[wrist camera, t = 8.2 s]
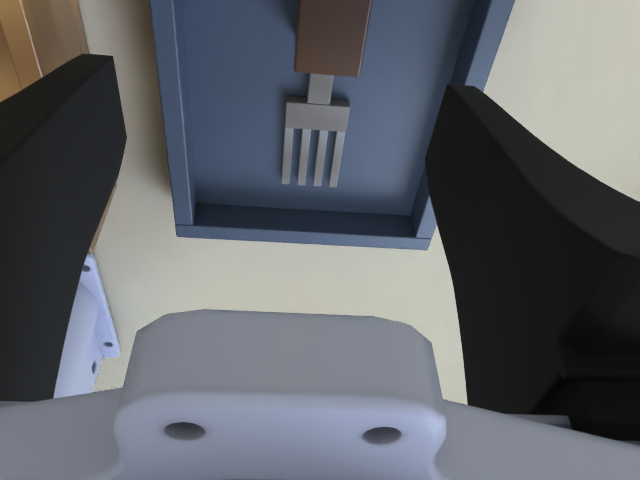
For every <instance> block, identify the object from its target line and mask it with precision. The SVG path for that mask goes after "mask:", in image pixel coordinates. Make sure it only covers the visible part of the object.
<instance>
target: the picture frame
mask: <svg viewBox="0 0 640 480" xmlns="http://www.w3.org/2000/svg"><path fill="white" fill-rule="evenodd" d="M514 2H515V0H373V2H372V8H371V14H370V20H369V26H368V32H367V38H366V44H365V50H364V56H363V62H362V68H361V74H360V76H359V77H347V76H335V75H334V78H333V85H332V93H331V99H336V100H349V101H350V112H349V118H348V124H347V131H346V132H345V138H344V144H343V150H342V157H341V163H340V169H339V176H338V182H337V187H329V182H328V181H329V174H330V167H331V160H332V153H333V146H334V140H335V133H336V131H328V137H327V144H326V152H325V159H324V167H323V174H322V182H321V186H313V175H314V166H315V158H316V149H317V141H318V132H319V130H311V135H310V144H309V154H308V163H307V173H306V182H305V185H297V175H298V164H299V154H300V143H301V132H302V129H295V128H294V132H293V144H292V157H291V169H290V182H289V184H281V176H282V161H283V146H284V130H285V127H284V125H285V108H286V97H287V96H297V97H307V90H308V79H309V73H297V72H295V71H294V35H295V20H296V6H297V0H149V6H150V15H151V23H152V32H153V40H154V49H155V57H156V66H157V74H158V82H159V91H160V99H161V108H162V116H163V125H164V133H165V142H166V150H167V159H168V167H169V176H170V184H171V192H172V201H173V209H174V218H175V223H176V224H175V227H176V235H177V237H188V238H207V239H226V240H245V241H264V242H283V243H302V244H320V245H339V246H358V247H377V248H396V249H415V250H428V247H429V244H430V241H431V238H432V236H433V233H434V230H435V227H436V224H437V222H436V218H435V215H434V211H433V207H432V204H431V200H430V196H429V190H428V182H427V174H426V164H425V156H426V153H427V150H428V146H429V143H430V139H431V136H432V133H433V129H434V126H435V123H436V119H437V116H438V113H439V109H440V106H441V103H442V99H443V96H444V92H445V89H446V86H447V84H456V85H468V86H475V87H476V88H478V89H479V90H481V91H482V92H483V90H484V87H485V84H486V82H487V79H488V76H489V73H490V70H491V67H492V64H493V62H494V59H495V56H496V53H497V50H498V47H499V44H500V42H501V39H502V36H503V33H504V30H505V27H506V24H507V22H508V19H509V16H510V13H511V10H512V7H513V4H514Z"/></svg>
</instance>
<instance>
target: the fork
mask: <svg viewBox="0 0 640 480" xmlns="http://www.w3.org/2000/svg"><path fill="white" fill-rule="evenodd" d="M372 2H373V0H297V6H296V20H295V35H294V71H295V72H297V73H309V79H308V90H307V97H297V96H287V97H286V108H285V125H284V127H285V130H284V146H283V161H282V176H281V184H289V182H290V169H291V157H292V144H293V132H294V128H295V129H302V132H301V143H300V154H299V164H298V175H297V185H305V182H306V173H307V163H308V154H309V144H310V135H311V130H319V132H318V141H317V149H316V158H315V166H314V175H313V186H321V182H322V174H323V167H324V159H325V152H326V144H327V137H328V131H336V133H335V140H334V146H333V153H332V160H331V167H330V174H329V181H328V182H329V187H337V182H338V176H339V169H340V163H341V157H342V150H343V144H344V138H345V132H346V131H347V124H348V118H349V112H350V101H349V100H336V99H331V93H332V85H333V78H334V75H335V76H347V77H359V76H360V74H361V68H362V62H363V56H364V50H365V44H366V38H367V32H368V26H369V20H370V14H371V8H372Z"/></svg>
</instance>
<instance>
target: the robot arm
mask: <svg viewBox="0 0 640 480" xmlns="http://www.w3.org/2000/svg"><path fill="white" fill-rule="evenodd" d="M126 139H127V136H126V130H125V124H124V118H123V112H122V106H121V100H120V94H119V89H118V83H117V77H116V71H115V65H114V59H113V56H106V55H94V54H81V55H79V56H77V57H75V58H73V59H71V60H70V61H68V62H66V63H65V64H63V65H61V66H60V67H58V68H56V69H55V70H53V71H52V72H50V73H48V74H47V75H45V76H44V77H42V78H40V79H39V80H37V81H35V82H34V83H32V84H31V85H29V86H27V87H26V88H24V89H22V90H21V91H19V92H18V93H16V94H14V95H12V96H10V97H8V98H7V99H5V100H3V101H1V102H0V480H640V202H638V201H636V200H634V199H632V198H630V197H628V196H626V195H624V194H622V193H620V192H618V191H617V190H615V189H613V188H611V187H609V186H607V185H606V184H604V183H602V182H600V181H599V180H597V179H596V178H594V177H592V176H591V175H589V174H588V173H586V172H584V171H583V170H581V169H579V168H578V167H576V166H575V165H573V164H572V163H570V162H569V161H567V160H566V159H565V158H563V157H562V156H560V155H559V154H558V153H556V152H555V151H554V150H552V149H551V148H550V147H548V146H547V145H546V144H544V143H543V142H542V141H541V140H539V139H538V138H537V137H535V136H534V135H533V134H532V133H531V132H529V131H528V130H527V129H526V128H525V127H523V126H522V125H521V124H520V123H519V122H517V121H516V120H515V119H514V118H513V117H512V116H510V115H509V114H508V113H507V112H506V111H505V110H503V109H502V108H501V107H500V106H499V105H498V104H496V103H495V102H494V101H493V100H492V99H491V98H489V97H488V96H487V95H486V94H484V93H483V92H482V91H481V90H479V89H478V88H476V87H475V86H468V85H456V84H447V86H446V89H445V92H444V96H443V99H442V103H441V106H440V109H439V113H438V116H437V119H436V123H435V126H434V129H433V133H432V136H431V139H430V143H429V146H428V150H427V153H426V156H425V164H426V174H427V182H428V190H429V196H430V200H431V204H432V207H433V211H434V215H435V218H436V222H437V226H438V229H439V233H440V236H441V240H442V243H443V247H444V251H445V254H446V258H447V261H448V265H449V268H450V273H451V277H452V281H453V286H454V293H455V299H456V306H457V312H458V319H459V327H460V335H461V343H462V351H463V359H464V370H465V380H466V391H467V402H468V405H465V404H461V403H457V402H452V401H448V400H444V399H443V398H442V393H441V388H440V383H439V378H438V373H437V368H436V363H435V358H434V353H433V348H432V343H431V342H430V341H429V340H428V339H427V338H425V337H424V336H423V335H422V334H420V333H419V332H418V331H417V330H416V329H414V328H413V327H412V326H411V325H408V324H406V323H402V322H397V321H392V320H388V319H383V318H378V317H374V316H351V315H327V314H303V313H280V312H256V311H232V310H208V309H203V310H195V311H186V312H178V313H170V314H166V315H163V316H162V317H160V318H158V319H157V320H155V321H153V322H152V323H150V324H148V325H147V326H145V327H143V328H142V329H140V330H138V331H137V333H136V336H135V340H134V344H133V348H132V352H131V356H130V360H129V364H128V368H127V372H126V376H125V381H124V385H123V388H116V389H110V390H104V391H98V392H93V388H94V385H95V381H96V378H97V374H98V371H99V367H100V364H101V360H102V357H109V358H114V357H117V356H119V354H120V346H119V342H118V339H117V335H116V331H115V328H114V324H113V321H112V317H111V313H110V310H109V306H108V303H107V299H106V295H105V292H104V288H103V285H102V281H101V277H100V274H99V270H98V267H97V263H96V260H95V257H94V255H93V254H88V251H89V248H90V246H91V243H92V241H93V238H94V236H95V233H96V231H97V228H98V226H99V223H100V221H101V218H102V216H103V213H104V211H105V208H106V206H107V203H108V201H109V198H110V196H111V193H112V191H113V188H114V186H115V183H116V180H117V178H118V175H119V171H120V167H121V163H122V158H123V154H124V149H125V144H126ZM86 265H87V266H86Z"/></svg>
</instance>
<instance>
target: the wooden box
mask: <svg viewBox="0 0 640 480" xmlns="http://www.w3.org/2000/svg"><path fill="white" fill-rule="evenodd" d="M81 54H89V51H88V47H87V42H86V37H85V32H84V28H83V23H82V18H81V13H80V8H79V4H78V0H0V102H1V101H3V100H5V99H7V98H8V97H10V96H12V95H14V94H16V93H18V92H19V91H21V90H22V89H24V88H26V87H27V86H29V85H31V84H32V83H34V82H35V81H37V80H39V79H40V78H42V77H44V76H45V75H47V74H48V73H50V72H52V71H53V70H55V69H56V68H58V67H60V66H61V65H63V64H65V63H66V62H68V61H70V60H71V59H73V58H75V57H77V56H79V55H81ZM115 189H116V183H115V186H114V188H113V191H112V193H111V196H110V198H109V201H108V203H107V206H106V208H105V211H104V213H103V216H102V218H101V221H100V223H99V226H98V228H97V231H96V233H95V236H94V238H93V241H92V243H91V246H90V248H89V251H88V254H92V253H93V251H94V248H95V245H96V243H97V240H98V237H99V234H100V231H101V228H102V226H103V223H104V220H105V217H106V214H107V212H108V209H109V206H110V203H111V200H112V197H113V195H114V192H115Z"/></svg>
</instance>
